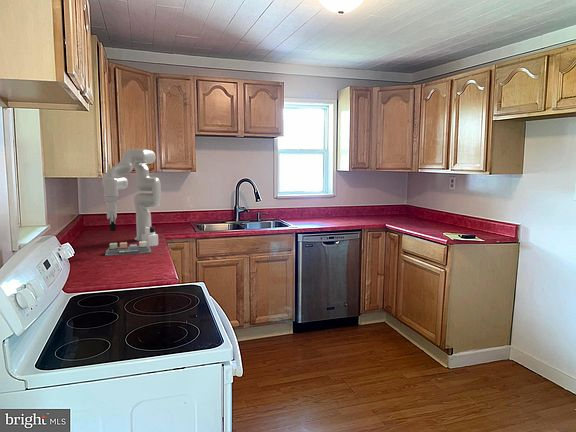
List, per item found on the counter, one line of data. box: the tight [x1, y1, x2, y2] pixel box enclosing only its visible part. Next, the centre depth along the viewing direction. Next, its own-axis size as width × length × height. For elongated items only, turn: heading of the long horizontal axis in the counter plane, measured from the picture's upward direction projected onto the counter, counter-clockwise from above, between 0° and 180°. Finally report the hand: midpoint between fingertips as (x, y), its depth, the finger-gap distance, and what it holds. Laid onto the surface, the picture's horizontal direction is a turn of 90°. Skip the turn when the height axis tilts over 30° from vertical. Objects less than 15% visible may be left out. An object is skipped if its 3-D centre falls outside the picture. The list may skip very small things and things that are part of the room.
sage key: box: [109, 242, 118, 249], centre depth 243 cm, size 4×4×2 cm
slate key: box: [129, 244, 138, 249], centre depth 247 cm, size 4×4×2 cm
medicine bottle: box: [142, 226, 159, 248], centre depth 264 cm, size 7×7×12 cm
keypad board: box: [104, 245, 153, 257], centre depth 246 cm, size 14×25×2 cm, turn 111°
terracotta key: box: [119, 241, 128, 248], centre depth 245 cm, size 4×4×2 cm
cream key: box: [138, 241, 147, 247], centre depth 249 cm, size 4×4×2 cm
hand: (113, 230), depth 242 cm, fingers closed
